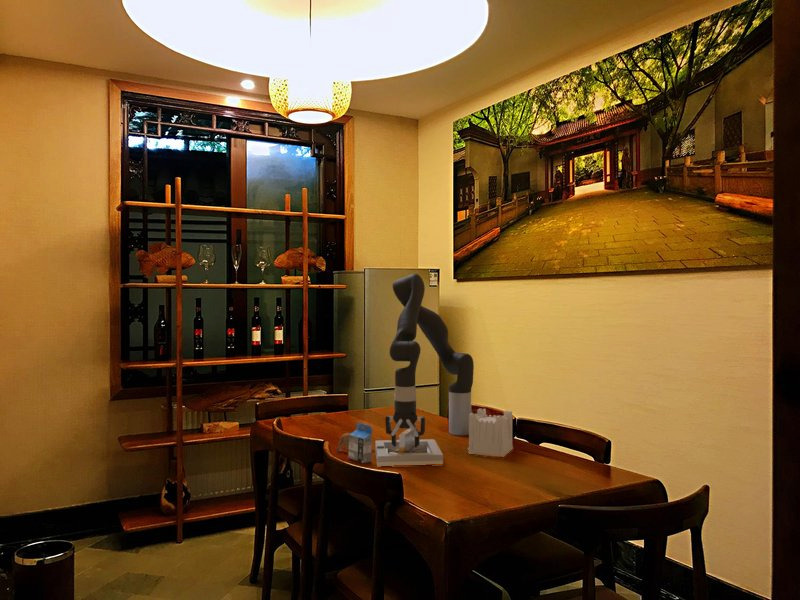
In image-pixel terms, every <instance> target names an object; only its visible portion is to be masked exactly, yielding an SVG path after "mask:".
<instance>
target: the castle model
mask: <svg viewBox="0 0 800 600" xmlns="http://www.w3.org/2000/svg"><path fill="white" fill-rule="evenodd" d="M476 411H477V412H476V413H473V412H472V413H471V414H469V435H468V447H467V449H468V450H469V451H468V450H467V452H468V453H469V454H479V455H491V456H502V457H504V456H505V455H506V454H507V453H509V452H510V451H511V450H512V449H513V450H514V446H513V411H512V410H504V411H503V415H494V414H493V416H492V415H491V414H489V415H488V414H487V408H478V409H477V410H476ZM513 450H512V451H513ZM512 451H511V452H512ZM511 452H510V453H511ZM468 453H467V454H468ZM510 453H509V454H510ZM469 454H468V455H469Z"/></svg>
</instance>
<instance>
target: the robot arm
mask: <svg viewBox="0 0 800 600" xmlns="http://www.w3.org/2000/svg"><path fill="white" fill-rule="evenodd" d="M424 282H425V281H424V280H423V278H422V277H421V276H420V274H419V273H411V274H408V275H406V276H404V277H400V278H399V279H396V280H394V281H393V283H392V291H393V293H394V295H395V296H396V298H397V300H398V301H399V303H400V304H401V305H402V306H403V307H404V308H403V309H402V311H401V313H400V315H399V316H398V320H397V324H396V325H397V327H396V333H395V336H394V338H393V341H392V342H391V344H390V347H389V356H390V358H391V360H393V361H394V362H409V365H408V366H404V367H401V368H400V367H399V368H396V370H395V371H394V372H395V374H394V395H393V399H394V403H393V404H394V405H393V406H394V407H393V408H394V410H393V411H394V413H393V415H389V414H388V415H387V416H385V419H384V421H385V434H387V435H390V436H391V440H392V445H393V447H396V440H397V432H398V430H399V429H406V430H407V429H409V428H411V430H412V431H413V433H414V434H415V447H416V448H417V447H418V446H419V440H420V437H421V436H423V435H425V434H426V433H425V432H426V417H425V416H418V415H417V389H416V371H417V366H418V362H419V360H420V359H419V358H420V357H421V356H420V354H421V346H420V344H419V343H418V342H417V340H416V341H415V339H416V337H417V331H418V327H419V329H420V330H421V332H422V333H423V335H424V336H425V338H426V339H427V340H428V341H429V343H430V345H431V346H432V348H433V349H434V351H435V352H436V353H437V356H438V358H439V359H440V361H441V364H442V365H443V367H444V368H445V370H446V372H448V373H449V374H451V375H454V376H455V375H456V377H457V378H456V381H455V382H453V383H450V384H449V386H448V433H449V435H453V436H469V414H471V413H473V410H472V386H473V383H474V370H475V369H474V368H475V367H474V359H473V356H472V355H471V354H469V353H465V352H456V351H455V350H454V349H453V348H452V346H451V344H450V343H449V329H448V327H447V325H446V324H445V322H444V320H443V319H442V317H441V316H440V314H438V313H437V312H435V311H433V310H432V309H429V308H427V307H425V306H422V303H423V300H424V296H425V289H426V288H425V283H424ZM393 421H394V422H395V427H394V428H393V430H392V427H391V423H392V422H393ZM417 421H418V423H419V424H420V430H418V427H417V425H416V424H415V423H417Z"/></svg>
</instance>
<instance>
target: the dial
mask: <svg viewBox="0 0 800 600" xmlns="http://www.w3.org/2000/svg"><path fill="white" fill-rule="evenodd" d="M398 435H399V436H398V437H399V439H398V440H399V444H396V447H393V445H391V446H389V447H388V454H389V453H390V452H394V453H427V447H426V446H424V445H420V444H419V446H418V447H417V448H416V447H415V434H414V433H413V431H412V430H411V428H409V429H407V428H406V430H404V431H402V432H401V433H400V434H398Z"/></svg>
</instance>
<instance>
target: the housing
mask: <svg viewBox="0 0 800 600" xmlns="http://www.w3.org/2000/svg"><path fill="white" fill-rule="evenodd" d="M396 444H399V439H396ZM419 444H420V445H424V446H426V447H427V453H394V452H390V453H389V454H388V447H389V446H391V445H392V439H391V440H390V439H387V440H386V439H385V440H383V439H382V440H375V441H374V446H375V447H374V450H375V451H374V452H375V458H376V459H377V460H376V466H377V468H378V467H379V468H381V466H392V467H395V466H394V465H426V464H443V465H444V454H443V452H442V451H441V449H440V447H439V445H438V443H437V442H436V440H435V439H429V438H427V439H419Z"/></svg>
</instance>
